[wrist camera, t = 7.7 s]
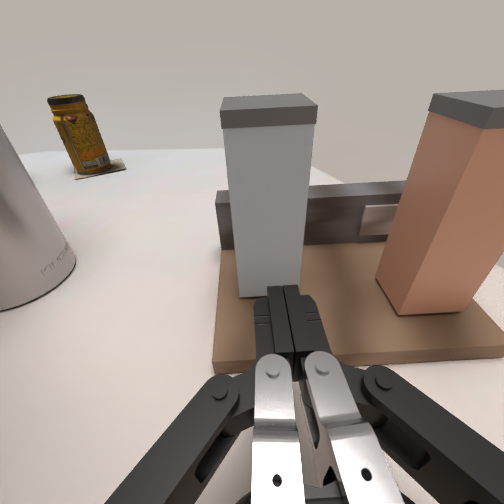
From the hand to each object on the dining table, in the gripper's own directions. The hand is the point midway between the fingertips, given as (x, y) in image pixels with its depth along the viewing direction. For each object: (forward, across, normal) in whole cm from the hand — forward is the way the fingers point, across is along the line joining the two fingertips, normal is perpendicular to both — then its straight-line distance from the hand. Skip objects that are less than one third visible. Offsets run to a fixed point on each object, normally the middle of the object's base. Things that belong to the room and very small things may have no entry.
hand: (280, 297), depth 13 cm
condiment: (+41, +28, +7) cm, 51 cm away
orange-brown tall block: (+4, -11, +5) cm, 13 cm away
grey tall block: (+7, 0, +5) cm, 9 cm away
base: (+7, -5, +7) cm, 11 cm away
